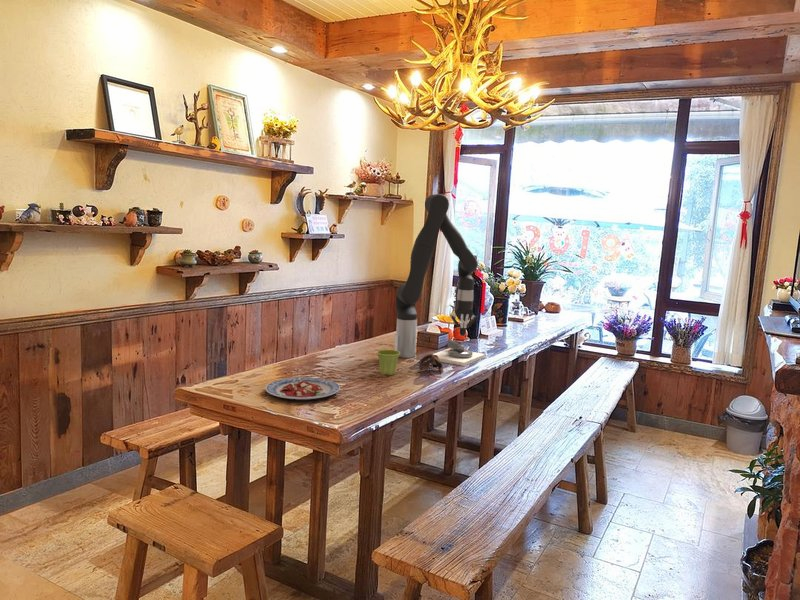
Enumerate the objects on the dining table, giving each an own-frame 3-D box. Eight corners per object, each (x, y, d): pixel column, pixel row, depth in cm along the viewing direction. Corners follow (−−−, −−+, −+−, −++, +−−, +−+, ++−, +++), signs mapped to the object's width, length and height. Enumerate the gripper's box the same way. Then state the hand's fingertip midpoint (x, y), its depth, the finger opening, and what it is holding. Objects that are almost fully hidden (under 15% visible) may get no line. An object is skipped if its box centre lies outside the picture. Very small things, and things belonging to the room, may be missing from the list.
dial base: (463, 366, 254) (464, 355, 253) (427, 359, 263) (427, 349, 263) (485, 357, 272) (485, 347, 271) (450, 351, 282) (450, 342, 281)
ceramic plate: (251, 391, 206) (251, 382, 206) (311, 379, 224) (311, 371, 224) (293, 409, 188) (293, 400, 187) (354, 395, 206) (354, 386, 205)
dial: (476, 357, 263) (477, 347, 263) (454, 358, 260) (454, 348, 259) (459, 348, 280) (460, 339, 279) (438, 349, 276) (438, 340, 276)
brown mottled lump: (443, 376, 236) (433, 359, 235) (422, 383, 240) (413, 367, 238) (448, 363, 247) (439, 346, 245) (429, 370, 251) (420, 353, 249)
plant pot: (385, 377, 230) (386, 355, 229) (371, 372, 237) (372, 351, 236) (404, 374, 236) (404, 353, 235) (389, 369, 243) (390, 348, 242)
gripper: (477, 298, 278) (474, 334, 280) (449, 297, 276) (446, 333, 278) (480, 301, 270) (477, 337, 273) (452, 299, 269) (449, 336, 271)
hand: (462, 335), depth 275 cm, fingers closed
